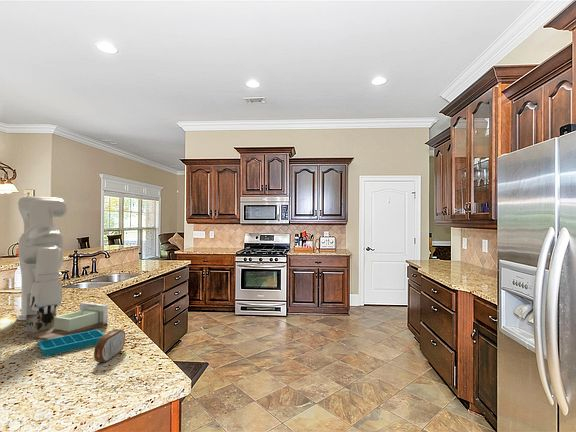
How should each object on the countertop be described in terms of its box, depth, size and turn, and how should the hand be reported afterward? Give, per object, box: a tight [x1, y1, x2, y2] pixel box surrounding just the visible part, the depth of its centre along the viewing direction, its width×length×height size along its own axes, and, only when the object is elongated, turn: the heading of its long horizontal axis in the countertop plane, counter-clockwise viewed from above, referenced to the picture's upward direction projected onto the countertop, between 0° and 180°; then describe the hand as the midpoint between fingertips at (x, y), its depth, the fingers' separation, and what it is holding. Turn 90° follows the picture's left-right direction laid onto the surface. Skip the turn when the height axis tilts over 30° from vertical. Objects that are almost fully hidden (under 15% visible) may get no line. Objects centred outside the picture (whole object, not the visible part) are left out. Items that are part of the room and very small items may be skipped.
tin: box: [93, 328, 126, 363], centre depth 113 cm, size 15×3×8 cm, turn 178°
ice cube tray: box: [36, 329, 106, 357], centre depth 124 cm, size 12×20×3 cm, turn 135°
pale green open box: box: [54, 309, 98, 332], centre depth 145 cm, size 10×13×5 cm
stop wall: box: [79, 301, 109, 324], centre depth 152 cm, size 16×2×8 cm, turn 66°
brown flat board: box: [26, 322, 108, 341], centre depth 142 cm, size 16×24×1 cm, turn 156°
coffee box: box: [25, 293, 57, 333], centre depth 145 cm, size 9×6×16 cm
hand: (46, 322), depth 134 cm, fingers closed
